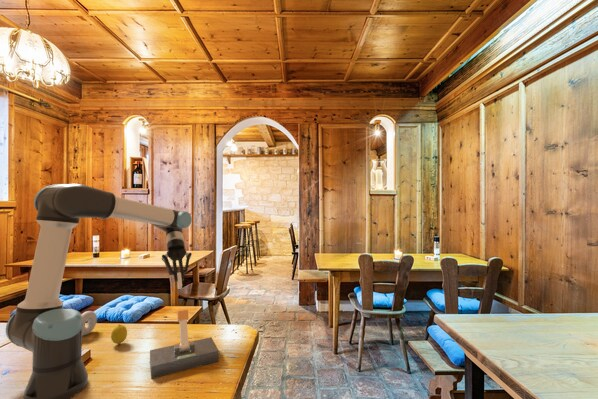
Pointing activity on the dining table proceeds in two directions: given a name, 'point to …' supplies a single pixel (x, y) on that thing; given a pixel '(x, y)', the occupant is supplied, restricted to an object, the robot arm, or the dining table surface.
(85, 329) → the donut
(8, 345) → the dining table surface
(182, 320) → the lever
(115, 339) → the lemon
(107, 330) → the dining table surface
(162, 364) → the box
